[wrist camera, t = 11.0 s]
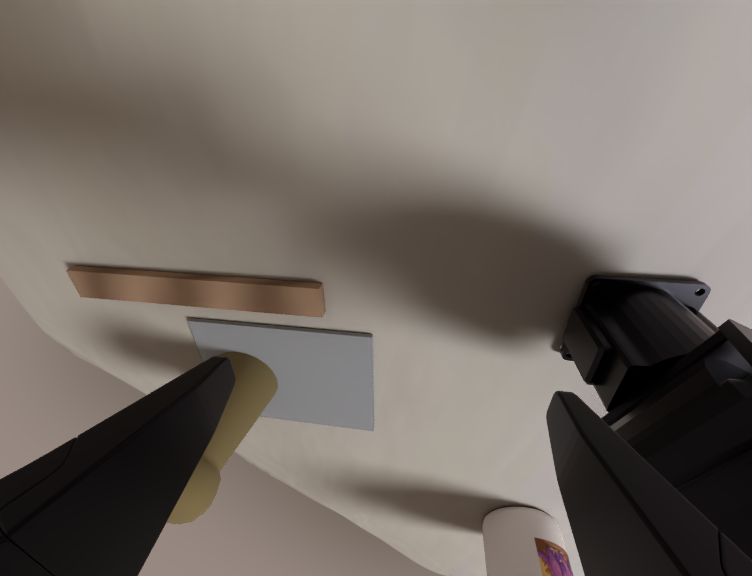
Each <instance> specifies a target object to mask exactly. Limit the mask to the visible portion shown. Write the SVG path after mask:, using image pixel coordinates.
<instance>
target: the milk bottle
mask: <svg viewBox="0 0 752 576" xmlns="http://www.w3.org/2000/svg"><path fill="white" fill-rule="evenodd" d="M482 529H483V541H484V551H485V560H486V570H487V576H573V573H572V569H571V566H570V562H569V558H568V555H567V551H566V548H565V544H564V541H563V537H562V534H561V531H560V528H559V526H558V524H557V523H556V522H555V520H554V519H553V518H552V517H551V516H549V515H548V514H546V513H544V512H542V511H539V510H536V509H532V508H526V507H505V508H500V509H497V510H494V511H492V512H490V513H489V514H488V515H487V516H486V517H485V518H484V522H483V525H482Z"/></svg>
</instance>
